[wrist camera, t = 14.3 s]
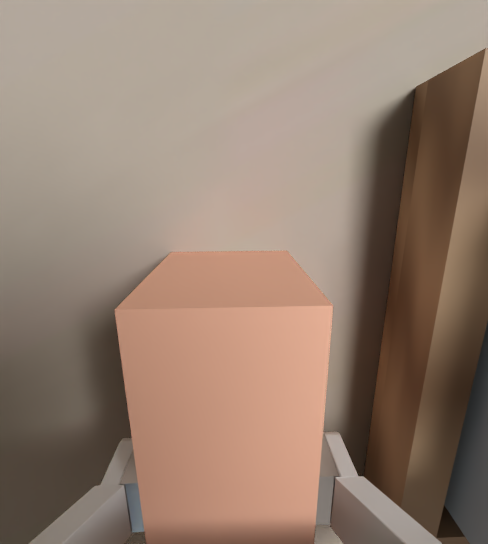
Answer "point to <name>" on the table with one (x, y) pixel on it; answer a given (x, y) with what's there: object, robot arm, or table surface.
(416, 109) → the jig
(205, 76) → the table surface
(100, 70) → the table surface
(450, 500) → the pale blue upright slab
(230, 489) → the salmon orange rectangular block
